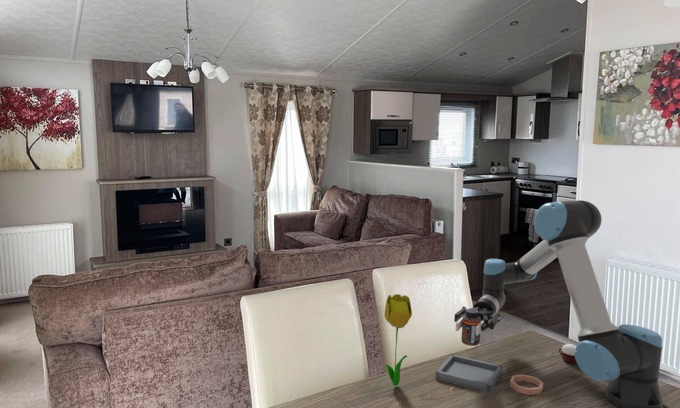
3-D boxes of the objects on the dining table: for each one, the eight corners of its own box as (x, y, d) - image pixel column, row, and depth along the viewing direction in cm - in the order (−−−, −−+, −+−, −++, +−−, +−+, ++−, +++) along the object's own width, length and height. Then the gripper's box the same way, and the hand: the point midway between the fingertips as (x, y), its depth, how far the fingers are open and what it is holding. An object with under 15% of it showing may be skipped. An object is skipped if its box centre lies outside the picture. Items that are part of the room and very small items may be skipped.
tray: (502, 372, 176) (502, 365, 176) (490, 392, 163) (490, 385, 162) (451, 360, 185) (451, 354, 185) (435, 378, 172) (435, 371, 171)
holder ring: (544, 384, 169) (545, 379, 168) (539, 397, 160) (539, 392, 160) (514, 377, 173) (514, 372, 173) (507, 389, 165) (508, 384, 165)
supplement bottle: (457, 341, 174) (459, 308, 173) (471, 338, 177) (473, 306, 175) (469, 347, 169) (470, 314, 167) (483, 344, 171) (485, 312, 170)
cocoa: (555, 358, 189) (556, 326, 188) (570, 356, 191) (571, 324, 190) (572, 368, 180) (573, 335, 179) (588, 366, 182) (589, 333, 180)
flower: (378, 389, 164) (380, 298, 160) (388, 378, 172) (390, 291, 167) (403, 395, 160) (406, 302, 156) (412, 384, 168) (415, 295, 163)
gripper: (512, 323, 183) (495, 346, 163) (459, 313, 192) (438, 334, 173) (513, 303, 182) (497, 323, 162) (460, 293, 191) (439, 312, 172)
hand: (466, 329), depth 167 cm, fingers closed on supplement bottle, 6 cm apart
